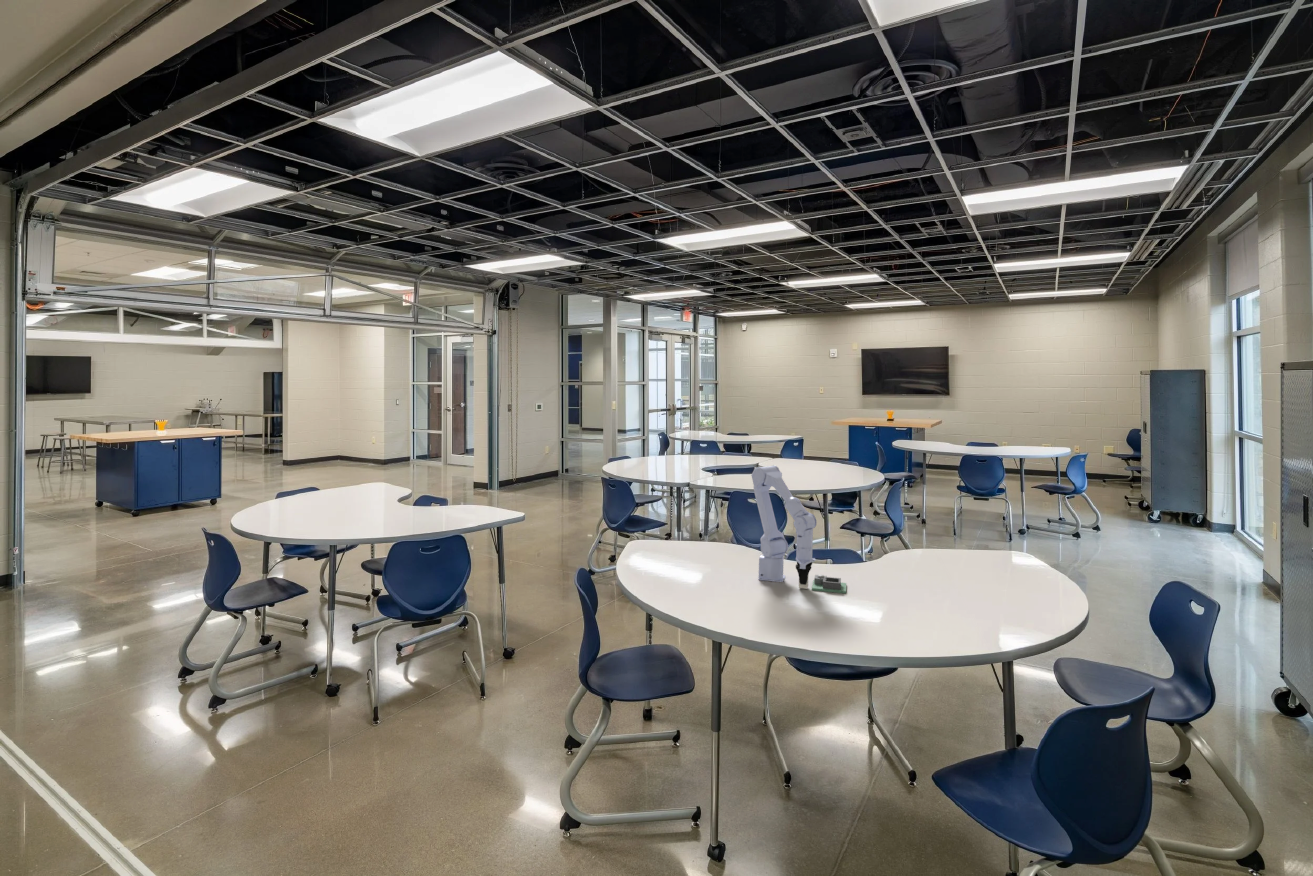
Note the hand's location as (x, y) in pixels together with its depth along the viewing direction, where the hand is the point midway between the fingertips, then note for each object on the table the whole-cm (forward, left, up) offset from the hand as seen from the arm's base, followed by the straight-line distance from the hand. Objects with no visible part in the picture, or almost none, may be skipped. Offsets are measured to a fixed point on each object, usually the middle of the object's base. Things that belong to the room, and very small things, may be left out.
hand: (803, 582), depth 228 cm
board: (+9, +4, -2) cm, 10 cm away
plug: (0, 0, -2) cm, 2 cm away
